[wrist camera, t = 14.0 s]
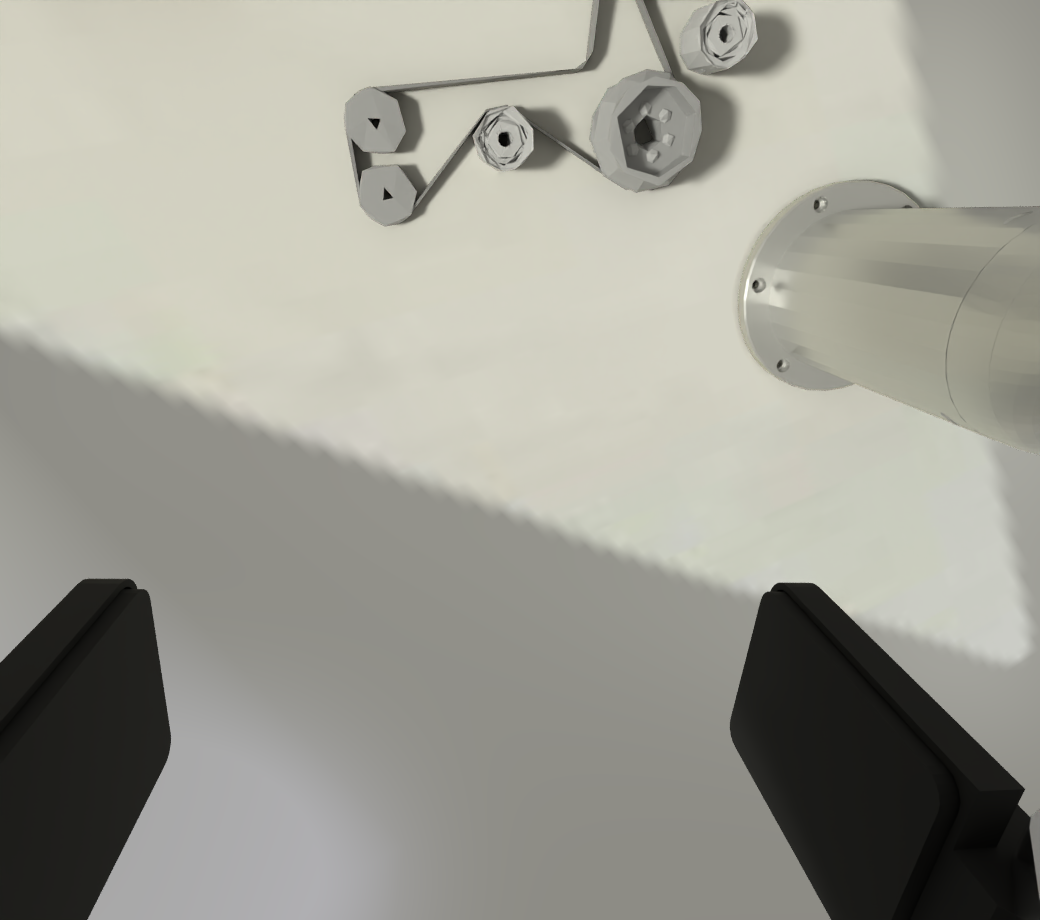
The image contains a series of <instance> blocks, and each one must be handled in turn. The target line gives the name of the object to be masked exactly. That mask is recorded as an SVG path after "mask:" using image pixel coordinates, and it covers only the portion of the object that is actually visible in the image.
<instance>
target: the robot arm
mask: <svg viewBox="0 0 1040 920" xmlns="http://www.w3.org/2000/svg"><path fill="white" fill-rule="evenodd" d="M814 202H815V203H816V206H815V208H814ZM754 281H755V282H756V284H755V286H754V287H753V288H752V284H753V282H754ZM738 314H739V323H740V328H741V331H742V334H743V338H744V341H745V344H746V345H747V347H748V349H749V350H750V352H751V354H752V356H753V357H754V359H755V360H756V361H757V362H758V363H759V364H760V365H761V366H762V367H763V369H764V370H766V371H767V372H768V373H770V374H771V375H773V376H774V377H776V378H777V379H779V380H781V381H783V382H786V383H788V384H790V385H792V386H795V387H799V388H803V389H807V390H821V391H826V390H833V389H840V388H844V387H847V386H850V385H853V384H856V385H859V386H861V387H864V388H866V389H869V390H871V391H874V392H876V393H879V394H881V395H884V396H886V397H889V398H891V399H893V400H896V401H898V402H901V403H903V404H906V405H908V406H911V407H913V408H916V409H918V410H921V411H923V412H926V413H928V414H930V415H933V416H935V417H938V418H940V419H943V420H945V421H948V422H950V423H953V424H955V425H958V426H960V427H963V428H965V429H967V430H970V431H972V432H975V433H977V434H980V435H982V436H985V437H987V438H990V439H992V440H995V441H998V442H1000V443H1003V444H1005V445H1008V446H1010V447H1013V448H1016V449H1019V450H1022V451H1025V452H1028V453H1033V454H1037V455H1040V206H1037V207H1036V206H1033V207H974V208H973V207H972V208H971V207H970V208H920V207H919V206H918V204H917V203H915V202H914V201H913V200H912V199H911V198H910V197H909V196H907V195H906V194H905V193H904V192H902V191H900V190H898V189H896V188H894V187H892V186H890V185H888V184H883V183H879V182H874V181H845V182H837V183H832V184H829V185H826V186H823V187H820V188H817V189H814V190H812V191H810V192H808V193H807V194H805V195H803V196H801V197H799V198H798V199H796V200H794V201H793V202H792V203H791V204H789V205H788V206H787V207H786V208H785V209H783V210H782V211H781V212H780V213H778V215H777V216H776V217H775V218H774V219H773V220H772V221H771V222H770V224H769V225H768V226H767V227H766V228H765V229H764V231H763V232H762V234H761V235H760V237H759V239H758V240H757V242H756V243H755V245H754V246H753V248H752V250H751V253H750V255H749V257H748V260H747V262H746V264H745V267H744V270H743V274H742V278H741V282H740V286H739V296H738ZM778 362H779V364H778ZM777 364H778V365H777ZM730 731H731V737H732V741H733V743H734V745H735V747H736V749H737V751H738V753H739V754H740V756H741V758H742V760H743V762H744V764H745V765H746V767H747V769H748V771H749V772H750V774H751V776H752V778H753V779H754V782H755V783H756V785H757V787H758V789H759V790H760V792H761V794H762V796H763V798H764V800H765V801H766V803H767V805H768V807H769V809H770V810H771V812H772V814H773V816H774V817H775V819H776V821H777V823H778V825H779V826H780V828H781V830H782V832H783V834H784V835H785V837H786V839H787V841H788V843H789V844H790V846H791V848H792V850H793V852H794V853H795V855H796V857H797V859H798V860H799V862H800V864H801V866H802V868H803V870H804V871H805V873H806V875H807V877H808V879H809V880H810V882H811V884H812V886H813V888H814V889H815V891H816V893H817V895H818V897H819V898H820V900H821V902H822V904H823V906H824V907H825V909H826V911H827V913H828V914H829V916H830V918H831V920H1040V809H1039V810H1037V811H1036V812H1035V813H1034V814H1033V815H1032V816H1031V817H1029V816H1028V815H1027V814H1026V813H1025V812H1024V811H1023V810H1022V809H1021V808H1020V807H1019V806H1018V802H1019V800H1020V798H1021V796H1022V794H1023V792H1024V790H1025V789H1024V788H1023V787H1022V786H1021V785H1020V784H1019V783H1018V782H1017V781H1016V780H1015V779H1014V778H1013V777H1012V776H1011V775H1010V774H1009V773H1008V772H1007V771H1006V770H1005V769H1004V768H1003V767H1002V766H1001V765H1000V764H999V763H998V762H997V761H996V760H995V759H994V758H993V757H992V756H991V755H990V754H989V753H988V752H987V751H986V750H985V749H984V748H983V747H982V746H981V745H979V743H978V742H976V741H975V740H974V739H973V738H972V737H971V736H970V735H969V734H968V733H967V732H966V731H965V730H964V729H963V728H962V727H961V726H960V725H959V724H958V723H957V722H956V721H955V720H954V719H953V718H952V717H951V716H950V715H949V714H948V713H947V712H946V711H945V710H944V709H943V708H942V707H941V706H940V705H939V704H938V703H937V702H935V700H934V699H933V698H932V697H931V696H930V695H929V694H928V693H927V692H925V691H924V690H923V689H922V688H921V687H920V686H919V685H918V684H917V683H916V682H915V681H914V680H913V679H912V678H911V677H910V676H909V675H908V674H907V673H906V672H905V671H904V670H903V669H902V668H901V667H900V666H899V665H898V664H897V663H896V662H895V661H894V660H893V659H892V658H891V657H890V656H889V655H888V654H887V653H886V652H885V651H884V650H883V649H882V648H881V647H880V646H879V645H877V643H875V642H874V641H873V640H872V639H871V638H870V637H869V636H868V635H867V634H866V633H865V632H864V631H863V630H862V629H861V628H860V627H859V626H858V625H857V624H856V623H855V622H854V621H853V620H852V619H851V618H850V617H849V616H848V615H847V614H846V613H845V612H844V611H843V610H842V609H841V608H840V607H839V606H838V605H837V604H836V603H835V602H834V601H833V600H832V599H831V598H830V597H829V596H828V595H827V594H826V593H825V592H823V591H822V590H821V589H820V588H819V587H818V586H817V585H815V584H813V583H777V584H775V585H774V586H773V588H772V589H771V592H766V593H765V594H764V595H763V596H762V599H761V602H760V606H759V610H758V614H757V618H756V622H755V626H754V630H753V634H752V637H751V641H750V645H749V649H748V653H747V657H746V661H745V665H744V669H743V673H742V676H741V680H740V684H739V688H738V692H737V696H736V700H735V704H734V708H733V712H732V716H731V720H730ZM170 744H171V733H170V726H169V720H168V713H167V706H166V700H165V693H164V687H163V680H162V673H161V667H160V660H159V654H158V647H157V640H156V634H155V627H154V621H153V614H152V607H151V601H150V596H149V594H148V592H147V591H146V590H144V589H137V586H136V584H135V583H134V581H132V580H131V579H85V580H82V581H81V582H80V583H78V584H77V585H76V586H75V587H74V588H73V589H72V590H71V591H70V592H69V593H68V595H67V596H66V597H65V598H64V599H63V600H62V601H61V602H60V603H59V604H58V605H57V606H56V607H55V608H54V609H53V610H52V611H51V612H50V613H49V614H48V615H47V616H46V617H45V618H44V619H43V620H42V621H41V622H40V623H39V624H38V625H37V626H36V627H35V628H34V629H33V630H32V631H31V632H30V633H29V634H28V635H27V636H26V637H25V638H24V639H23V640H22V641H21V642H20V643H19V644H18V645H17V646H16V647H15V649H13V650H12V651H11V653H10V654H8V656H7V657H6V658H5V659H4V660H3V661H2V662H1V663H0V920H87V919H88V917H89V915H90V913H91V911H92V909H93V907H94V905H95V903H96V901H97V899H98V897H99V895H100V893H101V891H102V889H103V887H104V885H105V883H106V881H107V879H108V877H109V875H110V873H111V871H112V869H113V867H114V865H115V863H116V861H117V859H118V857H119V855H120V853H121V851H122V849H123V847H124V845H125V843H126V841H127V839H128V837H129V835H130V834H131V831H132V830H133V828H134V825H135V823H136V821H137V819H138V818H139V816H140V813H141V811H142V810H143V808H144V805H145V804H146V802H147V799H148V797H149V796H150V794H151V792H152V790H153V788H154V786H155V784H156V781H157V779H158V778H159V776H160V774H161V772H162V770H163V768H164V765H165V763H166V761H167V758H168V755H169V751H170Z"/></svg>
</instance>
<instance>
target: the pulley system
mask: <svg viewBox="0 0 1040 920" xmlns="http://www.w3.org/2000/svg"><path fill="white" fill-rule="evenodd" d="M636 3H637V5H638V8H639V10H640V13H641V15H642V18H643V20H644V23H645V25H646V28H647V30H648V33H649V35H650V38H651V40H652V43H653V45H654V48H655V50H656V53H657V55H658V58H659V60H660V62H661V64H662V67H663V69H664V71H665V72H661V71H655V70H649V69H646V70H644V71H641V72H638V73H636V74H633V75H631V76H628V77H625V78H623V79H622V80H621V81H620V82H619V83H618V84H617V85H614V86H612V87H610V88H608V89H607V91H606V92H605V94H604V96H603V98H602V100H601V102H600V103H599V105H598V107H597V109H596V111H595V113H594V114H593V117H592V125H591V132H590V142H591V144H592V147H593V151H594V153H595V155H596V158H597V160H598V163H599V166H600V168H598V167H597V166H595V165H594V164H592V163H591V162H590V161H588V160H587V159H585V158H584V157H582V156H581V155H579V154H578V153H576V152H575V151H573V150H572V149H571V148H569V147H568V146H566V145H565V144H563V143H562V142H560V141H559V140H557V139H556V138H555V137H553V136H552V135H550V134H549V133H547V132H546V131H544V130H543V129H541V128H540V127H539V126H537V125H536V124H534V123H533V122H531V121H530V120H528V119H527V118H525V116H524V115H522V114H521V113H520V112H519V111H518V110H517V109H516V108H515V107H514V106H508V105H504V106H500V107H495V108H491V109H487V110H485V112H484V113H483V114H482V116H481V117H480V118H479V120H478V121H477V122H476V124H475V125H474V126H473V127H472V129H471V130H470V131H469V133H468V134H467V135H466V137H465V138H464V139H463V140H462V142H461V143H460V144H459V146H458V147H457V148H456V150H455V151H454V152H453V153H452V155H451V156H450V157H449V159H448V160H447V161H446V162H445V164H444V165H443V166H442V168H441V169H440V170H439V172H438V173H437V174H436V175H435V177H434V178H433V179H432V181H431V182H430V183H429V185H428V186H427V187H426V188H425V190H424V191H423V192H422V194H421V195H420V196H419V198H418V199H417V200H416V201H415V198H416V194H417V191H416V190H415V188H414V186H413V185H412V183H411V182H410V180H409V179H408V177H407V175H406V174H405V172H404V171H403V170H402V169H401V168H400V167H399V166H398V165H382V166H372V167H370V168H368V169H365V170H363V171H362V175H361V180H360V185H359V179H358V174H357V168H356V162H355V156H354V150H353V144H352V140H353V141H354V142H355V143H356V144H357V145H358V146H359V147H360V149H361V150H362V151H363V152H371V153H382V154H386V153H391V152H395V150H396V148H397V147H398V145H399V143H400V141H401V139H402V138H403V136H404V134H405V132H406V129H405V125H404V122H403V118H402V115H401V111H400V108H399V104H398V101H397V100H396V99H395V98H393V97H391V96H390V95H388V94H386V93H388V92H398V91H407V90H417V89H426V88H436V87H446V86H455V85H465V84H474V83H484V82H494V81H503V80H513V79H522V78H532V77H541V76H551V75H561V74H570V73H577V72H578V71H580V70H581V69H582V68H583V67H584V65H585V64H586V62H587V61H588V59H589V57H590V56H591V54H592V52H593V48H594V40H595V32H596V24H597V16H598V8H599V0H593V5H592V14H591V22H590V31H589V39H588V48H587V56H586V61H585V62H584V63H582V64H581V65H580V66H579V67H577V68H576V69H570V70H559V71H548V72H537V73H526V74H515V75H503V76H492V77H481V78H470V79H459V80H448V81H437V82H426V83H415V84H404V85H393V86H382V87H367V88H364V89H362V90H360V91H358V92H357V93H356V94H354V96H353V97H352V98H351V99H350V100H349V101H348V102H347V103H346V104H345V112H344V123H345V129H346V135H347V140H348V145H349V150H350V155H351V161H352V166H353V171H354V176H355V182H356V187H357V192H358V197H359V202H360V206H361V208H362V209H363V210H364V212H365V213H366V214H367V215H368V216H369V217H370V218H371V219H372V220H374V221H376V222H378V223H379V224H381V225H383V226H390V225H396V224H399V223H401V222H403V221H404V220H406V219H407V218H408V217H409V216H410V215H411V214H412V212H413V211H414V209H415V208H416V206H417V205H418V204H419V202H420V201H421V200H422V198H423V197H424V195H425V194H426V193H427V191H428V190H429V189H430V187H431V186H432V185H433V183H434V182H435V180H436V179H437V178H438V176H439V175H440V174H441V172H442V171H443V170H444V168H445V167H446V166H447V164H448V163H449V162H450V160H451V159H452V158H453V156H454V155H455V154H456V153H457V151H458V150H459V149H460V147H461V146H462V145H463V143H464V142H465V141H466V139H467V138H468V137H469V135H470V134H471V133H472V131H473V130H474V129H475V127H476V126H477V125H478V124H479V122H480V121H481V120H482V121H481V122H480V124H479V125H478V127H477V129H476V130H475V132H474V133H473V135H472V137H473V140H474V144H475V147H476V151H477V154H478V156H479V158H480V159H481V160H482V161H483V162H484V163H485V164H487V165H489V166H491V167H492V168H494V169H495V170H498V171H509V170H514V169H517V168H518V167H519V166H520V165H522V164H523V163H524V162H525V161H526V159H527V158H528V157H529V155H530V154H531V152H532V151H533V128H532V127H531V126H530V124H531V125H532V126H533V127H535V128H536V129H538V130H539V131H541V132H542V133H544V134H545V135H546V136H548V137H549V138H551V139H552V140H554V141H555V142H557V143H558V144H560V145H561V146H562V147H564V148H565V149H567V150H568V151H570V152H571V153H573V154H574V155H575V156H577V157H578V158H580V159H581V160H583V161H584V162H586V163H587V164H588V165H590V166H591V167H593V168H594V169H596V170H597V171H599V172H600V173H602V174H603V176H604V177H606V178H608V179H609V180H611V181H612V182H614V183H616V184H617V185H619V186H620V187H622V188H624V189H625V190H632V191H634V192H636V193H637V192H641V191H645V190H654V189H655V188H658V187H663V186H667V185H669V184H670V183H671V182H672V180H673V179H674V178H675V177H676V176H677V174H678V173H679V172H680V171H681V169H682V168H684V167H685V166H687V165H688V164H689V163H691V162H692V161H693V158H694V155H695V152H696V148H697V145H698V142H699V138H700V135H701V132H702V122H701V107H700V101H699V99H698V98H697V97H696V96H695V95H694V94H693V93H692V92H691V91H690V90H689V89H688V88H687V87H686V85H685V84H684V83H682V82H678V81H676V80H675V78H674V76H673V73H672V71H671V68H670V66H669V63H668V61H667V58H666V56H665V53H664V51H663V48H662V46H661V43H660V41H659V38H658V36H657V33H656V31H655V28H654V26H653V23H652V21H651V19H650V16H649V14H648V11H647V9H646V6H645V4H644V1H643V0H636ZM757 40H758V38H757V30H756V23H755V16H754V13H753V12H752V10H751V9H750V8H749V6H748V5H747V4H746V3H745V2H744V1H743V0H719V1H716V2H714V3H711V4H709V5H706V6H704V7H701V8H699V9H696V10H694V12H693V14H692V15H691V17H690V19H689V20H688V22H687V24H686V26H685V27H684V29H683V31H682V32H681V36H680V56H681V58H682V60H683V61H684V63H685V65H686V67H687V69H688V70H691V71H694V72H696V73H699V74H703V75H707V74H711V73H715V72H719V71H723V70H726V69H729V68H730V67H732V66H734V65H735V64H737V63H738V62H740V61H741V60H742V59H743V58H745V56H746V55H747V54H748V52H749V51H750V49H751V48H752V47H753V45H754V44H755V43H756V41H757ZM485 114H486V115H485ZM483 117H484V118H483ZM373 118H376V119H378V121H379V122H380V123H379V125H378V128H377V127H374V126H373V124H372V123H371V121H372V120H373ZM482 118H483V119H482ZM642 119H645V121H646V123H647V126H648V128H649V130H650V132H651V135H652V139H653V140H652V141H649V142H647V143H644V144H642V145H640V144H638V143H637V142H636V141H635V136H634V129H635V127H636V126H637V124H638V123H639V122H640V121H641V120H642ZM499 134H501V135H506V136H507V146H506V147H503V146H501V145H500V143H499V142H498V139H499ZM384 188H385V189H386V190H387V191H388V192H389V193H390V194H391V196H392V198H390V199H387V200H385V199H384ZM414 202H415V203H414Z"/></svg>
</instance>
